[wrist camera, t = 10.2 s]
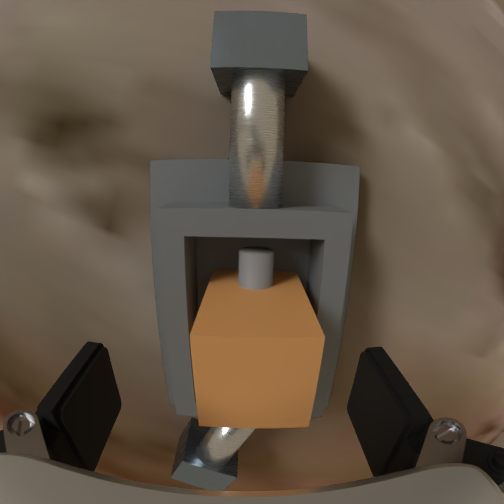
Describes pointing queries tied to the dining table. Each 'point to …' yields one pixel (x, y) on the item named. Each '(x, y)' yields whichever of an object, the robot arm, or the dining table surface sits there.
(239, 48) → the straight shaft
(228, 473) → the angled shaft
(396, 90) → the dining table surface
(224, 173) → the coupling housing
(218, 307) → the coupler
